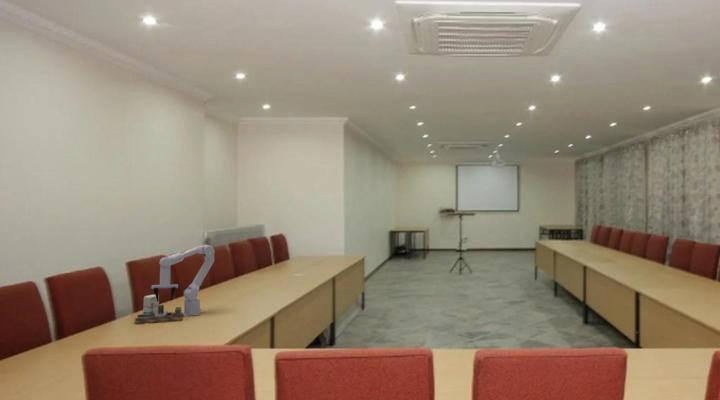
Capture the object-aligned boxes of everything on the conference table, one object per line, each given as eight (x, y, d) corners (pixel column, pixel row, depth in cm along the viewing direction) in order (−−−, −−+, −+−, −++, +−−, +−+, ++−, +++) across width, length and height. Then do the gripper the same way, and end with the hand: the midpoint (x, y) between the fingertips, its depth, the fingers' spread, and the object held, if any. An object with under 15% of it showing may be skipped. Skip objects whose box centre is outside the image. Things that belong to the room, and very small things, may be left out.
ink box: (150, 316, 274) (150, 297, 274) (142, 316, 275) (142, 296, 275) (159, 313, 282) (159, 294, 282) (152, 313, 283) (152, 294, 283)
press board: (183, 315, 275) (183, 305, 275) (182, 320, 263) (182, 310, 263) (138, 319, 267) (138, 309, 267) (134, 324, 255) (134, 313, 255)
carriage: (168, 315, 270) (168, 303, 270) (167, 318, 263) (167, 306, 263) (155, 316, 268) (156, 304, 268) (154, 319, 261) (154, 307, 261)
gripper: (151, 279, 265) (150, 302, 265) (177, 278, 270) (177, 301, 269) (152, 277, 272) (152, 300, 271) (178, 276, 276) (178, 298, 276)
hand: (164, 300), depth 271 cm, fingers open, 7 cm apart
